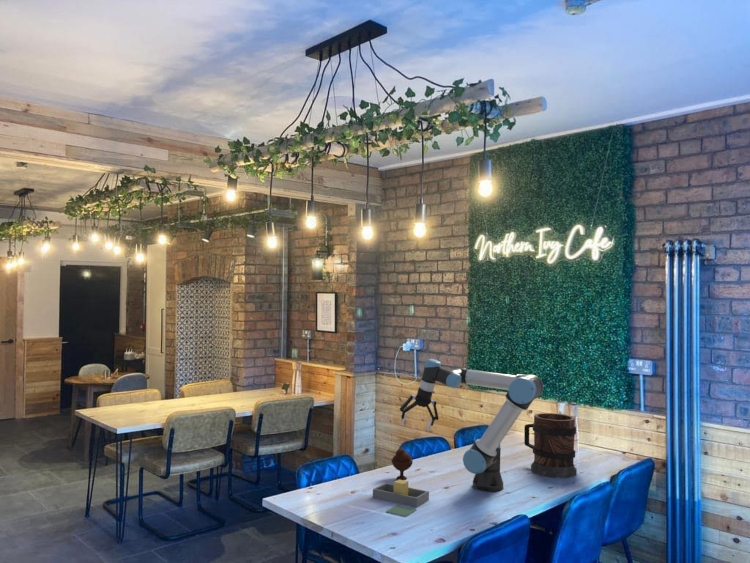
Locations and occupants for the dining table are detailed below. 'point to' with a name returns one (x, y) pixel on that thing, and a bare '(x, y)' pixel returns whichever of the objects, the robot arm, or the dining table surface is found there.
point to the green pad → (401, 510)
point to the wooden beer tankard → (552, 445)
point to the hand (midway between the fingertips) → (415, 428)
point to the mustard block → (401, 487)
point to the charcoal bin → (413, 498)
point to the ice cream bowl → (402, 462)
